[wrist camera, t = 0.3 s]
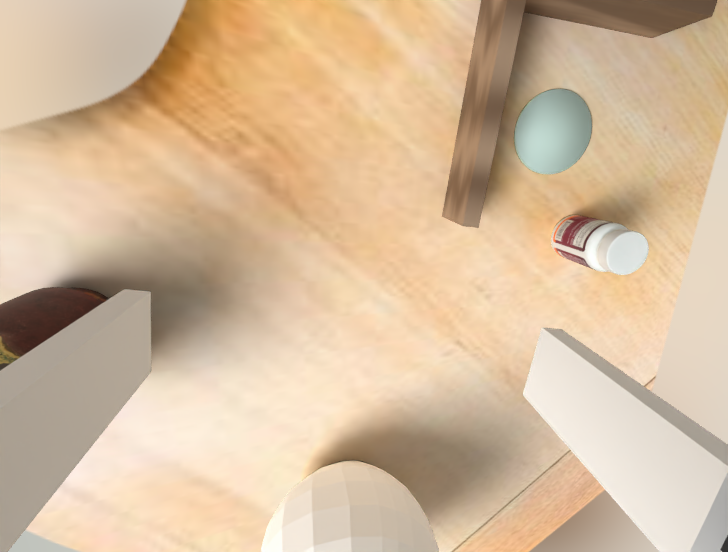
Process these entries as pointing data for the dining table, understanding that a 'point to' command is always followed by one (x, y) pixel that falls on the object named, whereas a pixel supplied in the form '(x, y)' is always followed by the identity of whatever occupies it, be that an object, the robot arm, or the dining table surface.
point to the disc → (552, 131)
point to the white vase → (349, 514)
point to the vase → (41, 317)
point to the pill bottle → (599, 244)
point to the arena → (493, 69)
